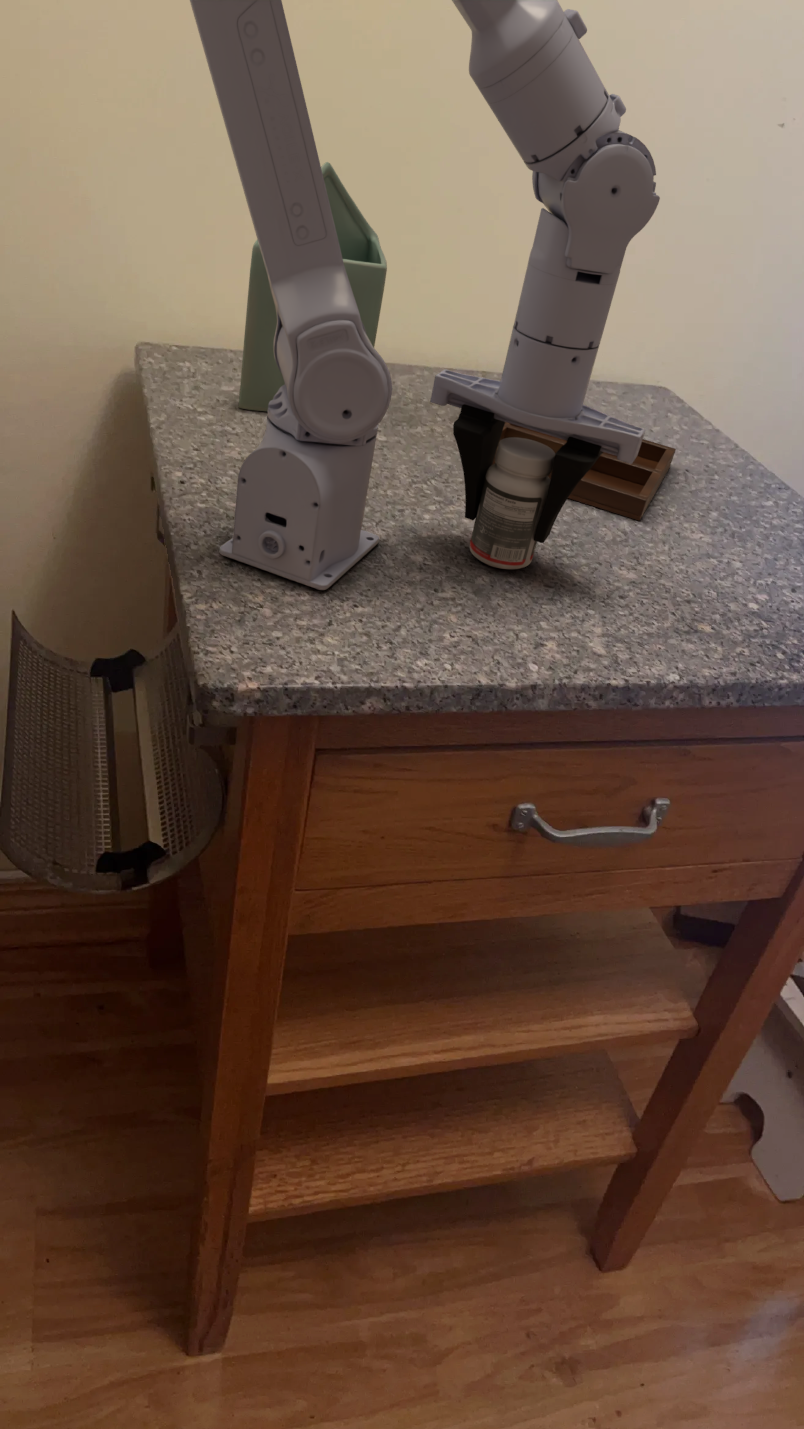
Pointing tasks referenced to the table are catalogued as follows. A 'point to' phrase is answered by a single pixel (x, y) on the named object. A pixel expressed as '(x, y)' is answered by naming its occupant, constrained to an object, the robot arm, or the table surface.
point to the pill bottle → (512, 503)
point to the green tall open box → (261, 317)
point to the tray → (612, 474)
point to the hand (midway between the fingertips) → (507, 526)
